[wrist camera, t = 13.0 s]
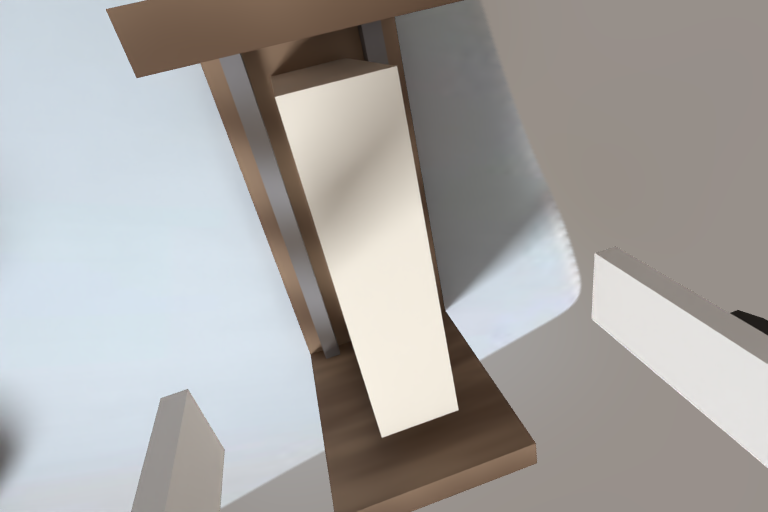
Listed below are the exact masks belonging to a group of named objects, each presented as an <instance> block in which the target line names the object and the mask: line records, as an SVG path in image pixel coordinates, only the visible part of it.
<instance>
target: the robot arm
mask: <svg viewBox="0 0 768 512" xmlns="http://www.w3.org/2000/svg"><path fill="white" fill-rule="evenodd" d="M592 320H593V321H595V322H596V323H597V324H598V325H599V326H600V327H602V328H603V329H604V330H605V331H607V333H609V334H610V335H611V336H612V337H613V338H615V339H616V340H617V341H618V342H619V343H620V344H622V345H623V346H624V347H625V348H626V349H628V350H629V351H630V352H631V353H632V354H633V355H635V356H636V357H637V358H638V359H640V360H641V361H642V362H643V363H644V364H645V365H647V366H648V367H649V368H650V369H651V370H652V371H654V372H655V373H656V374H657V375H658V376H660V377H661V378H662V379H663V380H664V381H665V382H667V383H668V384H669V385H670V386H671V387H673V388H674V389H675V390H676V391H677V392H678V393H680V394H681V395H682V396H683V397H685V398H686V399H687V400H688V401H689V402H690V403H691V404H693V405H694V406H695V407H696V408H697V409H699V410H700V411H701V412H702V413H703V414H704V415H706V416H707V417H708V418H709V419H710V420H712V421H713V422H714V423H715V424H716V425H718V426H719V427H720V428H721V429H722V430H723V431H725V432H726V433H727V434H728V435H729V436H730V437H732V438H733V439H734V440H735V441H736V442H738V443H739V444H740V445H741V446H742V447H743V448H745V449H746V450H747V451H748V452H749V453H751V454H752V455H753V456H754V457H755V458H757V459H758V460H759V461H760V462H761V463H762V464H764V465H765V466H766V467H767V468H768V321H767V320H765V319H764V318H761V317H757V316H755V315H752V314H749V313H745V312H742V311H739V310H737V311H734V312H732V313H729V312H727V311H725V310H723V309H722V308H720V307H718V306H717V305H715V304H713V303H711V302H710V301H708V300H706V299H705V298H703V297H701V296H699V295H698V294H696V293H694V292H693V291H691V290H689V289H688V288H686V287H684V286H683V285H681V284H679V283H677V282H676V281H674V280H672V279H671V278H669V277H667V276H666V275H664V274H662V273H660V272H659V271H657V270H655V269H654V268H652V267H650V266H649V265H647V264H645V263H643V262H642V261H640V260H638V259H637V258H635V257H633V256H631V255H630V254H628V253H626V252H625V251H623V250H621V249H620V248H618V247H616V246H615V247H612V248H609V249H606V250H603V251H600V252H597V253H595V260H594V282H593V303H592ZM224 451H225V450H224V448H223V446H222V445H221V443H220V441H219V440H218V438H217V436H216V435H215V433H214V432H213V430H212V428H211V427H210V425H209V423H208V422H207V420H206V418H205V417H204V415H203V413H202V412H201V410H200V408H199V407H198V405H197V403H196V402H195V400H194V398H193V397H192V395H191V393H190V392H189V390H188V389H187V390H184V391H181V392H178V393H175V394H172V395H169V396H166V397H163V398H161V399H160V403H159V407H158V410H157V414H156V418H155V422H154V426H153V430H152V433H151V437H150V441H149V445H148V449H147V453H146V456H145V460H144V464H143V468H142V472H141V476H140V479H139V483H138V487H137V491H136V495H135V499H134V502H133V506H132V510H131V512H220V505H221V491H222V478H223V465H224Z"/></svg>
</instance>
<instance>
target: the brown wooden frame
mask: <svg viewBox="0 0 768 512" xmlns="http://www.w3.org/2000/svg"><path fill="white" fill-rule="evenodd" d="M458 1H463V0H146V1H141V2H137V3H132V4H128V5H123V6H118V7H114V8H109V9H106V11H107V13H108V15H109V18H110V20H111V22H112V24H113V26H114V29H115V31H116V33H117V35H118V38H119V40H120V42H121V44H122V46H123V49H124V51H125V53H126V55H127V58H128V60H129V62H130V64H131V66H132V69H133V71H134V73H135V75H136V78H139V77H144V76H148V75H152V74H156V73H160V72H165V71H169V70H173V69H177V68H181V67H186V66H190V65H194V64H198V63H201V66H202V69H203V71H204V74H205V77H206V79H207V82H208V84H209V87H210V90H211V92H212V95H213V98H214V100H215V103H216V106H217V108H218V111H219V114H220V116H221V119H222V121H223V124H224V127H225V129H226V132H227V135H228V137H229V140H230V143H231V145H232V148H233V151H234V153H235V156H236V158H237V161H238V164H239V166H240V169H241V172H242V174H243V177H244V180H245V182H246V185H247V188H248V190H249V193H250V195H251V198H252V201H253V203H254V206H255V209H256V211H257V214H258V217H259V219H260V222H261V225H262V227H263V230H264V232H265V235H266V238H267V240H268V243H269V246H270V248H271V251H272V254H273V256H274V259H275V262H276V264H277V267H278V269H279V272H280V275H281V277H282V280H283V283H284V285H285V288H286V291H287V293H288V296H289V299H290V301H291V304H292V306H293V309H294V312H295V314H296V317H297V320H298V322H299V325H300V328H301V330H302V333H303V336H304V338H305V341H306V343H307V346H308V349H309V351H310V354H311V360H312V367H313V373H314V380H315V387H316V393H317V400H318V407H319V413H320V420H321V426H322V433H323V440H324V446H325V453H326V460H327V466H328V472H329V480H330V486H331V493H332V499H333V506H334V512H411V511H414V510H417V509H419V508H422V507H425V506H427V505H429V504H432V503H435V502H437V501H440V500H442V499H445V498H448V497H450V496H453V495H456V494H458V493H461V492H463V491H466V490H469V489H471V488H474V487H476V486H479V485H482V484H484V483H487V482H489V481H492V480H494V479H497V478H500V477H502V476H505V475H508V474H510V473H513V472H515V471H517V470H520V469H523V468H526V467H528V466H531V465H533V464H536V463H537V455H536V443H535V441H534V440H533V439H532V437H531V436H530V434H529V433H528V431H527V430H526V428H525V427H524V425H523V424H522V423H521V421H520V420H519V418H518V417H517V415H516V414H515V412H514V411H513V409H512V408H511V406H510V405H509V403H508V402H507V400H506V399H505V398H504V396H503V395H502V393H501V392H500V390H499V389H498V387H497V386H496V384H495V383H494V381H493V380H492V378H491V377H490V376H489V374H488V373H487V371H486V370H485V368H484V367H483V365H482V364H481V362H480V361H479V359H478V358H477V357H476V355H475V354H474V352H473V351H472V349H471V348H470V346H469V345H468V343H467V342H466V340H465V339H464V337H463V336H462V335H461V333H460V332H459V330H458V329H457V327H456V326H455V324H454V323H453V321H452V320H451V318H450V317H449V315H448V314H447V313H446V311H445V308H444V302H443V296H442V290H441V285H440V279H439V273H438V267H437V261H436V256H435V250H434V244H433V238H432V232H431V226H430V221H429V215H428V209H427V203H426V197H425V192H424V186H423V180H422V174H421V168H420V162H419V157H418V151H417V145H416V139H415V133H414V128H413V122H412V116H411V110H410V104H409V99H408V93H407V87H406V81H405V75H404V69H403V64H402V58H401V52H400V46H399V40H398V35H397V29H396V23H395V16H400V15H404V14H408V13H412V12H416V11H421V10H425V9H429V8H433V7H437V6H442V5H446V4H450V3H454V2H458ZM344 58H349V59H356V60H362V61H368V62H375V63H381V64H388V65H394V66H397V69H398V74H399V80H400V85H401V91H402V97H403V102H404V108H405V113H406V119H407V125H408V130H409V136H410V141H411V147H412V152H413V158H414V164H415V169H416V175H417V180H418V186H419V192H420V197H421V203H422V208H423V214H424V220H425V225H426V231H427V236H428V242H429V247H430V253H431V259H432V264H433V270H434V275H435V281H436V287H437V292H438V298H439V303H440V309H441V314H442V320H443V326H444V331H445V337H446V342H447V348H448V354H449V359H450V365H451V370H452V376H453V382H454V387H455V393H456V398H457V404H458V409H459V410H458V411H455V412H452V413H449V414H446V415H444V416H441V417H438V418H435V419H433V420H430V421H427V422H424V423H422V424H419V425H416V426H413V427H411V428H408V429H405V430H402V431H399V432H397V433H394V434H391V435H388V436H386V437H383V438H382V437H381V433H380V430H379V427H378V424H377V421H376V418H375V414H374V411H373V408H372V405H371V402H370V398H369V395H368V392H367V389H366V386H365V383H364V379H363V376H362V373H361V370H360V367H359V363H358V360H357V357H356V354H355V351H354V348H353V344H352V341H351V338H350V335H349V332H348V328H347V325H346V322H345V319H344V316H343V313H342V309H341V306H340V303H339V300H338V297H337V294H336V290H335V287H334V284H333V281H332V278H331V274H330V271H329V268H328V265H327V262H326V259H325V255H324V252H323V249H322V246H321V243H320V239H319V236H318V233H317V230H316V227H315V224H314V220H313V217H312V214H311V211H310V208H309V204H308V201H307V198H306V195H305V192H304V189H303V185H302V182H301V179H300V176H299V173H298V169H297V166H296V163H295V160H294V157H293V154H292V150H291V147H290V144H289V141H288V138H287V134H286V131H285V128H284V125H283V122H282V119H281V115H280V112H279V109H278V106H277V103H276V99H275V96H274V91H273V86H272V81H271V76H275V75H279V74H283V73H287V72H291V71H295V70H299V69H303V68H307V67H311V66H315V65H319V64H323V63H327V62H331V61H335V60H339V59H344Z"/></svg>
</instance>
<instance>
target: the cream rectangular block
mask: <svg viewBox="0 0 768 512" xmlns="http://www.w3.org/2000/svg"><path fill="white" fill-rule="evenodd" d="M271 81H272V86H273V91H274V96H275V99H276V103H277V106H278V109H279V112H280V115H281V119H282V122H283V125H284V128H285V131H286V134H287V138H288V141H289V144H290V147H291V150H292V154H293V157H294V160H295V163H296V166H297V169H298V173H299V176H300V179H301V182H302V185H303V189H304V192H305V195H306V198H307V201H308V204H309V208H310V211H311V214H312V217H313V220H314V224H315V227H316V230H317V233H318V236H319V239H320V243H321V246H322V249H323V252H324V255H325V259H326V262H327V265H328V268H329V271H330V274H331V278H332V281H333V284H334V287H335V290H336V294H337V297H338V300H339V303H340V306H341V309H342V313H343V316H344V319H345V322H346V325H347V328H348V332H349V335H350V338H351V341H352V344H353V348H354V351H355V354H356V357H357V360H358V363H359V367H360V370H361V373H362V376H363V379H364V383H365V386H366V389H367V392H368V395H369V398H370V402H371V405H372V408H373V411H374V414H375V418H376V421H377V424H378V427H379V430H380V433H381V437H382V438H383V437H386V436H388V435H391V434H394V433H397V432H399V431H402V430H405V429H408V428H411V427H413V426H416V425H419V424H422V423H424V422H427V421H430V420H433V419H435V418H438V417H441V416H444V415H446V414H449V413H452V412H455V411H458V410H459V409H458V404H457V398H456V393H455V387H454V382H453V376H452V370H451V365H450V359H449V354H448V348H447V342H446V337H445V331H444V326H443V320H442V314H441V309H440V303H439V298H438V292H437V287H436V281H435V275H434V270H433V264H432V259H431V253H430V247H429V242H428V236H427V231H426V225H425V220H424V214H423V208H422V203H421V197H420V192H419V186H418V180H417V175H416V169H415V164H414V158H413V152H412V147H411V141H410V136H409V130H408V125H407V119H406V113H405V108H404V102H403V97H402V91H401V85H400V80H399V74H398V69H397V66H394V65H388V64H381V63H375V62H368V61H362V60H356V59H349V58H344V59H339V60H335V61H331V62H327V63H323V64H319V65H315V66H311V67H307V68H303V69H299V70H295V71H291V72H287V73H283V74H279V75H275V76H271Z"/></svg>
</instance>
